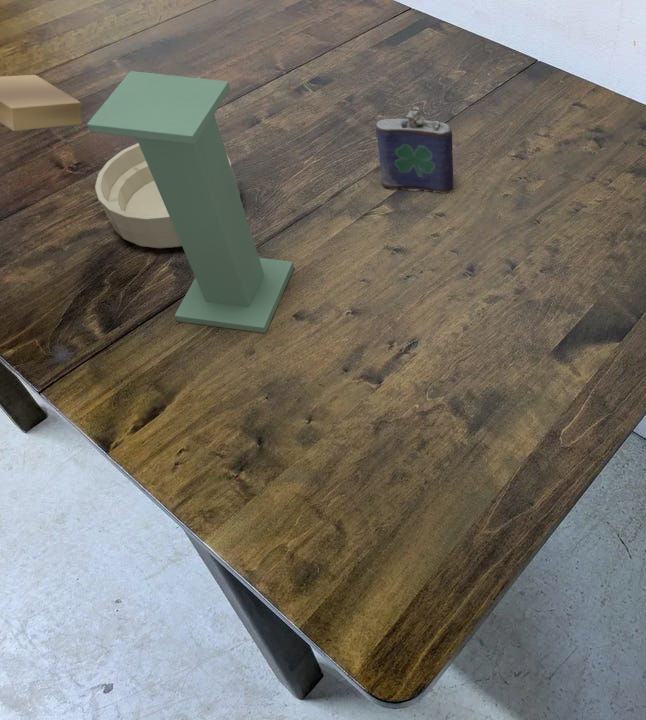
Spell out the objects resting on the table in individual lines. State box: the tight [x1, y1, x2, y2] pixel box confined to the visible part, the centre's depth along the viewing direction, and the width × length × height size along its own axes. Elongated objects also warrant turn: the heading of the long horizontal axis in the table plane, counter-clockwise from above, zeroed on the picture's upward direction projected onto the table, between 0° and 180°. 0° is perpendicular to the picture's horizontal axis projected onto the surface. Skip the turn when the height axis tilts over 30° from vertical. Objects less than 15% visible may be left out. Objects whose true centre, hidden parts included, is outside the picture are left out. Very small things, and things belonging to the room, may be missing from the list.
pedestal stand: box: [86, 70, 295, 334], centre depth 71 cm, size 10×10×25 cm
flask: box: [375, 106, 454, 194], centre depth 89 cm, size 9×3×11 cm, turn 84°
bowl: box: [94, 142, 241, 249], centre depth 87 cm, size 15×15×6 cm
